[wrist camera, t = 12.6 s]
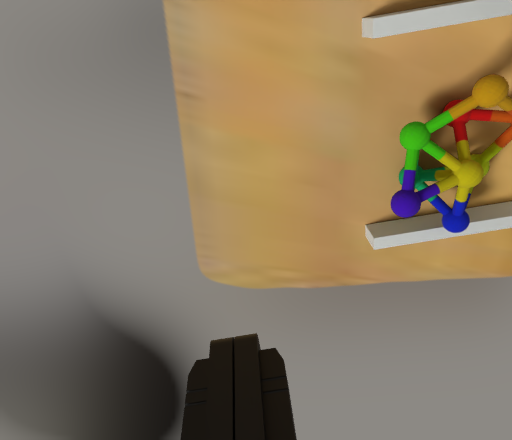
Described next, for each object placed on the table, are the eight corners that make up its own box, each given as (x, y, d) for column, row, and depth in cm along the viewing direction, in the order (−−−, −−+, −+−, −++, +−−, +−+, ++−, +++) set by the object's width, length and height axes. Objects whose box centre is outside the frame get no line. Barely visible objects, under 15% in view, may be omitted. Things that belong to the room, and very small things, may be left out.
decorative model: (567, 131, 36) (474, 263, 38) (483, 117, 43) (409, 228, 45) (513, 46, 29) (402, 214, 31) (423, 46, 36) (338, 182, 38)
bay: (361, 18, 34) (373, 18, 31) (593, -23, 33) (624, -26, 31) (365, 235, 45) (374, 249, 42) (539, 207, 44) (559, 219, 42)
